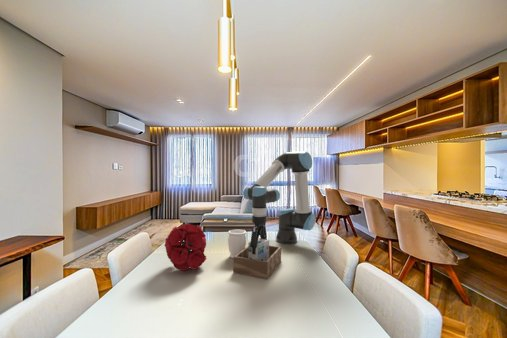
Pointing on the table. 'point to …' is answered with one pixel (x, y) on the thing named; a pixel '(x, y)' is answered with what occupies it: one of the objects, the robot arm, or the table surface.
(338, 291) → the table surface
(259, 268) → the walnut crate
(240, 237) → the jar
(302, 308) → the table surface
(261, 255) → the light bulb box
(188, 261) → the bouquet
